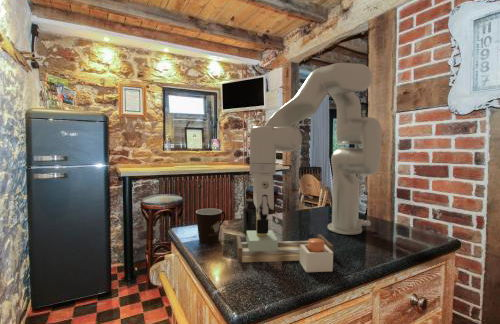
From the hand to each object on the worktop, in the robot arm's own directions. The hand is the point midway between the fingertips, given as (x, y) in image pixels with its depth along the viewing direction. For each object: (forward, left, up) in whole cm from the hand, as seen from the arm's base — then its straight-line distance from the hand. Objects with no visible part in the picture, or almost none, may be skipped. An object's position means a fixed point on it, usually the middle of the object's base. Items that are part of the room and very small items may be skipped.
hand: (261, 230), depth 81 cm
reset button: (-14, +9, -3) cm, 16 cm away
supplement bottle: (0, -21, -7) cm, 22 cm away
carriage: (0, 0, -4) cm, 4 cm away
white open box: (-14, +9, -7) cm, 18 cm away
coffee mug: (+14, -13, -7) cm, 21 cm away
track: (-7, 0, -7) cm, 10 cm away
